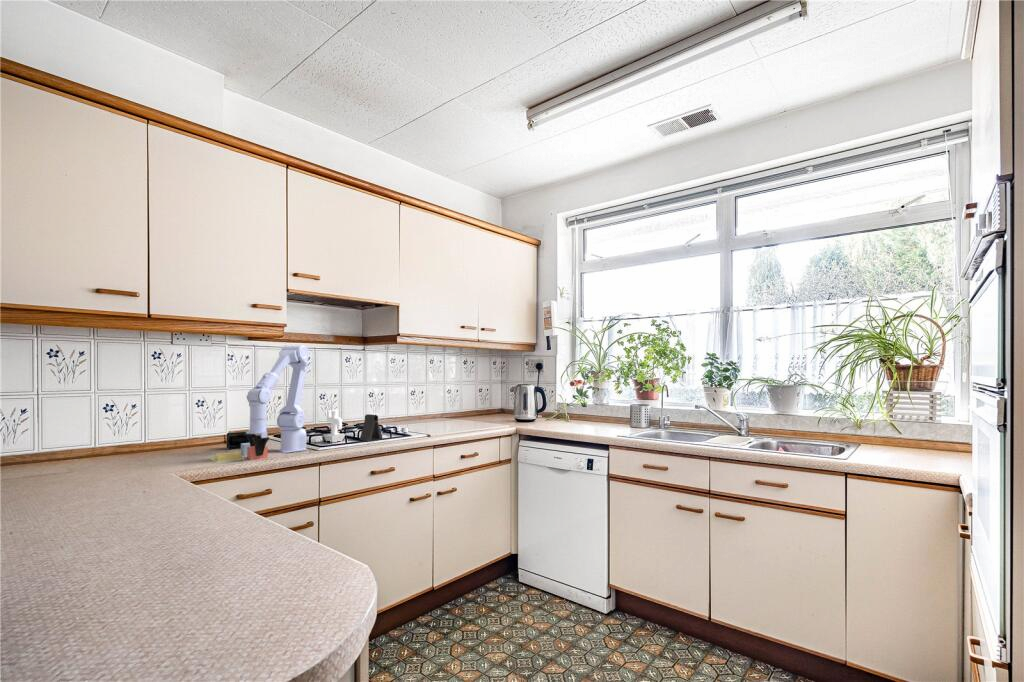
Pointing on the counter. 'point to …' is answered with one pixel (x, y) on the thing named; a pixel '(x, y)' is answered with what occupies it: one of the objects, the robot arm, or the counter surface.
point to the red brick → (252, 454)
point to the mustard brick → (228, 456)
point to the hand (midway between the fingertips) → (257, 454)
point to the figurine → (334, 426)
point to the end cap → (236, 440)
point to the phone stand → (371, 429)
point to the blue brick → (244, 448)
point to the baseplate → (226, 460)
